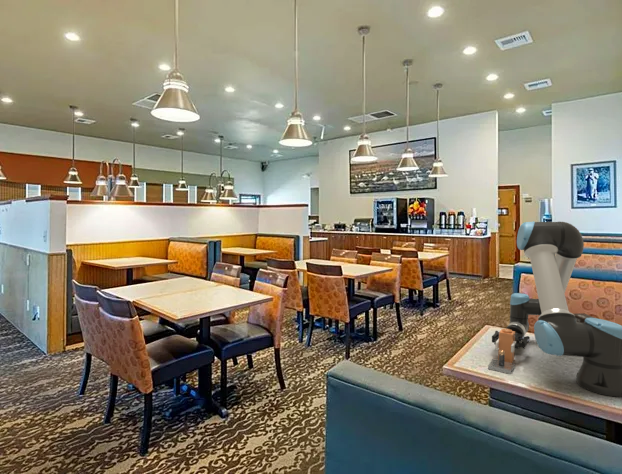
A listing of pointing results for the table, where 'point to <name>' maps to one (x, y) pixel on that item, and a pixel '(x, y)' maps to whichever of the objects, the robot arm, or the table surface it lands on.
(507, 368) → the junction plate
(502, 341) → the orange capped block
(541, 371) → the table surface
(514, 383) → the table surface
